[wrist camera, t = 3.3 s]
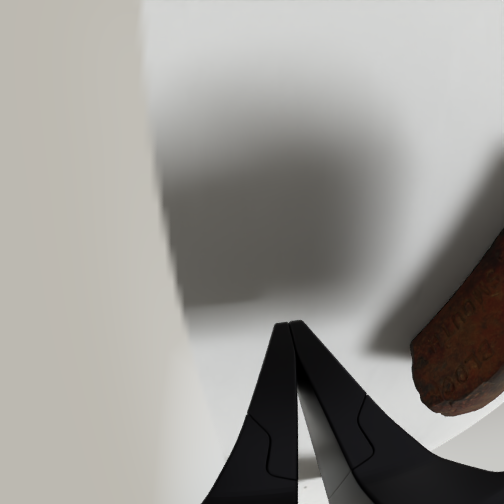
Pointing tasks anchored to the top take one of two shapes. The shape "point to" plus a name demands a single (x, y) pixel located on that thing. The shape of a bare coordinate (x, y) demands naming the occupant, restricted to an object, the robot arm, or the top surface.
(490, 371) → the brick
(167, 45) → the top surface
